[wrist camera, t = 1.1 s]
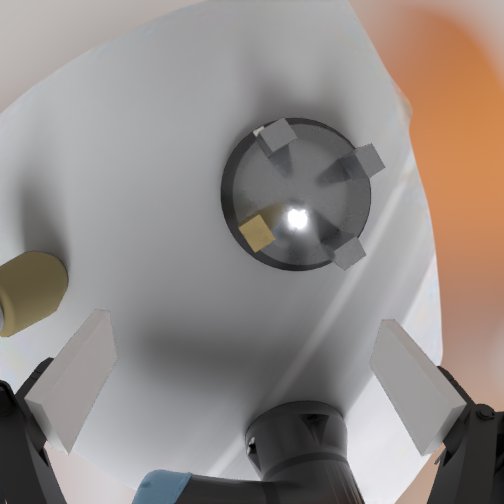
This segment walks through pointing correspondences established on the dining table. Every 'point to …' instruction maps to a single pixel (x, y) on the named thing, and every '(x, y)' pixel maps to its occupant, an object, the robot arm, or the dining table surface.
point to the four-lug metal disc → (304, 194)
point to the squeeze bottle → (30, 290)
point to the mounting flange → (228, 196)
